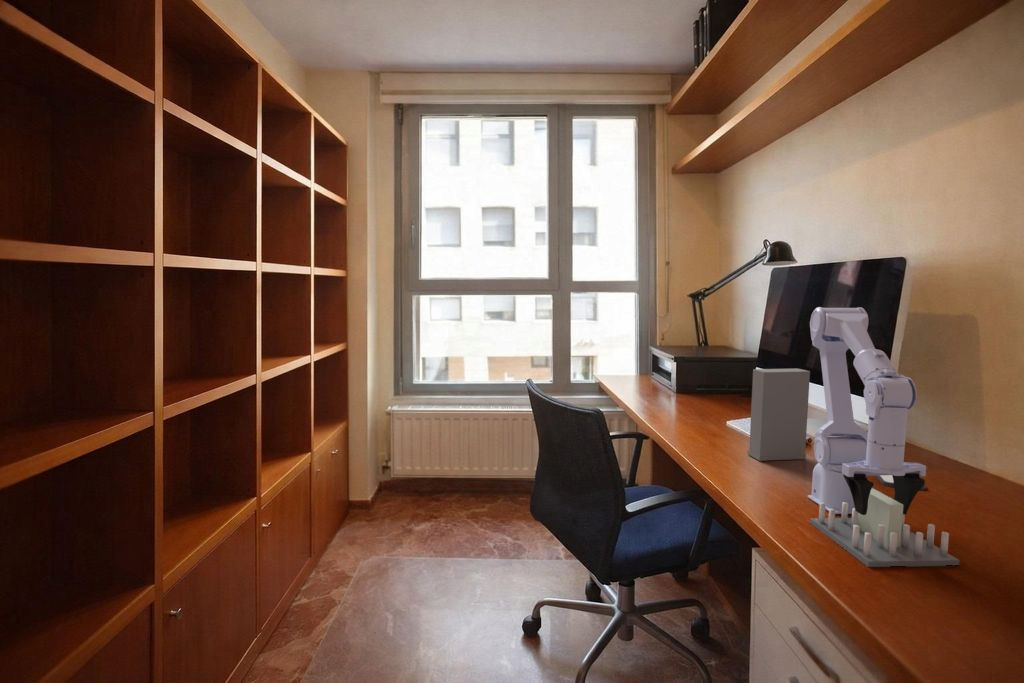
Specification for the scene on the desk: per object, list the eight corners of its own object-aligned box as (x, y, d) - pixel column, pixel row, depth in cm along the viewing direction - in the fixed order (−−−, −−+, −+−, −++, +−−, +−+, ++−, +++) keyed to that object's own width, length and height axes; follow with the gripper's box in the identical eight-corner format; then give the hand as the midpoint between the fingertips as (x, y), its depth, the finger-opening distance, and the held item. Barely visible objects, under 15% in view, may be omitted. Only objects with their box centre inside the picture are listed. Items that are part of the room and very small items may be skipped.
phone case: (927, 493, 124) (904, 470, 139) (928, 487, 124) (904, 464, 139) (883, 488, 128) (865, 466, 142) (883, 482, 127) (865, 460, 142)
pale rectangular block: (857, 527, 103) (859, 488, 102) (869, 527, 103) (872, 487, 102) (887, 547, 95) (890, 504, 94) (900, 547, 95) (903, 504, 94)
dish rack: (809, 522, 107) (811, 499, 107) (886, 522, 108) (888, 498, 107) (868, 567, 90) (870, 539, 90) (958, 565, 91) (961, 538, 90)
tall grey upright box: (791, 452, 153) (796, 367, 150) (805, 459, 147) (810, 371, 144) (746, 454, 151) (750, 368, 149) (759, 461, 145) (763, 372, 143)
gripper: (862, 448, 93) (856, 522, 94) (942, 448, 93) (936, 521, 95) (836, 437, 100) (832, 506, 101) (911, 436, 100) (905, 505, 102)
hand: (880, 512), depth 98 cm, fingers open, 7 cm apart
